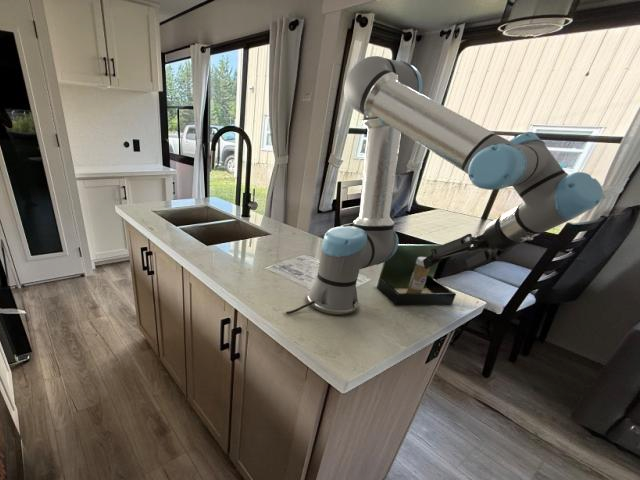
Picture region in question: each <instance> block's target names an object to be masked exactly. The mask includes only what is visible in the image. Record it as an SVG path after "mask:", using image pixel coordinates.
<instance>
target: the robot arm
mask: <svg viewBox="0 0 640 480" xmlns="http://www.w3.org/2000/svg"><path fill="white" fill-rule="evenodd" d="M422 91H423V79H422V75H421V73H420V71H419V70H418V69H417V68H416V67H415V66H414V65H412V64H410V63H408V62H407V61H402V60H395V59H391V58H388V57H387V58H386V57H383V56H379V55H371V56H367V57H364V58H362V59H361V60H359V61H357V62H356V63H355V64H354V66H353V67H352V68H351V69H350V70H349V72H348V73H347V75H346V78H345V82H344V85H343V93H344V98H345V101H346V103H347V104H348V106H349V107H350V108H351V109H353V110H354V111H356V112H358V113H360V114H361V115H363V119H362V124H363V125H364V126H365V127H366V128H367V134H366V135H367V136H366V146H365V154H364V165H363V175H362V183H361V195H360V203H359V213H358V217H357V218H355V219H354V220H353V221H352V226H351V225H346V226H342V225H340V226H336V227H332V228H330V229H329V230H327V231H326V232H325V234H324V236H323V240H322V242H321V252H320V257H319V262H318V269H317V275H316V278H315V279H314V282H313V283H312V286H311V287H310V289H309V290H308V293H307V299H306V300H307V303H305V304H303V305H301V306H299V307H298V308H295V309H292V310H288V311H285V314H286V315H290V314H293V313H294V314H295V313H297V312H298V311H301V310H302V309H305V308H307V307H309V306H310V307H311V308H313V309H314V310H316V311H318V312H320V313H323V314H326V315H330V316H332V315H333V316H347V315H351V314H353V313H355V312H356V310H357V309H358V306H359V305H360V302H359V299H358V291H357V282H358V277H359V273H360V270H362V269H366V268H370V267H373V266H377V265H381V264H383V262H385V261H387V260H388V259H390V258H391V257H392V256H393V255H394V254H395V252H396V250H397V248H398V244H399V237H398V234H397V233H396V230H395V229H394V226H395V222H394V221H393V220H392V218H391V207H392V200H393V194H394V186H395V180H396V179H395V178H396V172H397V164H398V157H399V150H400V142H401V135H402V134H403V135H405V136H406V137H408V138H410V139H411V140H413V141H414V142H416V143H417V144H419V145H421V146H422V147H424V148H426V149H427V150H429V151H430V152H432V153H434V154H436V156H439V157H440V158H442V159H443V160H445V161H446V162H448V163H450V164H451V165H453V166H454V167H456V168H458V169H459V170H461V171H463V172H464V173H466V174H467V175H468V178H469V181H470V182H471V183H472V184H473V185H474V186H475V187H477V188H480V189H483V190H490V191H496V190H501V189H505V188H510V187H512V188H513V189H514V190H515V191H516V193H517V195H518V196H519V198H520V199H522V201H523V202H522V203H521V204H519V205H517V206H516V207H513V208H512V209H510V210H509V211H507V212H505V213H503V214H502V215H500V216H499V217H497V218H495V219H494V220H492V221H490V222H489V223H488V224H486V226H485V229H484V231H483V232H481V233H479V234H477V235H476V236H473V234H472V233H467V234H465V235H463V236H461V237H459V238H457V239H453V240H451V241H449V242H446V243H442V244H439V245H440V246H438V247H435V248H432V249H431V251H432V255H430V256H429V257H427V258H425V259H424V260H423V263H424V268H425V269H428V268H429V267H431V266H433V265H435V264H436V263H438V262H439V263H440V262H442V261H443V260H444V259H445V258H449V257H452V256H457V255H460V254H463V253H467V252H468V253H475V252H477V251H480V252H478V253H477V254H475V255H472V256H471V257H468V258H467V259H465V262H466V267H467V269H474V268H475V267H477V266H480V265H481V264H484V263H485V262H487V261H490V262H495V261H497V258H498V259H502V258H504V257H505V256H506V255H507V254H509V252H511V250H513V248H515V247H517V246H519V245H521V244H522V243H523V242H526V241H533V240H534V237H537V236H539V235H541V234H543V233H545V232H547V231H549V230H551V229H554V228H556V227H558V226H560V225H562V224H564V223H567V222H569V221H571V220H573V219H576V218H578V217H580V216H581V215H583V214H584V213H586V212H588V211H590V210H593V209H594V208H595V207H597V206H598V205H599V204H600V203H601V202H602V200H603V197H604V190H603V187H602V185H601V183H600V182H599V181H598V179H596V178H593V177H592V176H591V174H589V173H587V172H583V171H577V172H572V173H571V174H569V173H567V172H566V171H565V170H564V169H563V167H562V166H561V165H560V163H559V161H558V160H557V159H556V157H554V155H553V154H552V153H551V151H550V150H549V149H548V147H547V146H546V142H545V141H544V140H541V138H539V136H538V135H537V134H536V133H535V132H533V131H526V132H524V133H521V134H519V135H517V136H514V137H513V138H511V139H510V140H508V139H506V138H504V137H503V136H500V135H498V134H496V133H495V132H494V131H492V130H489V129H488V128H486V127H483V126H482V125H480V124H478V123H477V122H474V121H472V120H471V119H468V118H467V117H465V116H463V115H461V114H460V113H458V112H455V111H454V110H452V109H450V108H448V107H447V106H444V105H443V104H441V103H439V102H437V101H435V100H433V99H431V98H429V97H428V96H426V95H424V94H422ZM472 246H473V248H472ZM439 263H438V264H439Z"/></svg>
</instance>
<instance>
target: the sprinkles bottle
mask: <svg viewBox="0 0 640 480" xmlns="http://www.w3.org/2000/svg"><path fill="white" fill-rule="evenodd" d="M425 258H427V257H418V258H417V260H416V265H415V268H414V271H413V273H412V276H411V279H410V283H409V286H408V289H407V290H406V292H405V293H423V292H422V291H423V290H424V288H423V287H424V284H425V282H426V278H427V275H428V272H429V269H430V267H429V268H428V269H425V268H424V263H423V260H424V259H425Z"/></svg>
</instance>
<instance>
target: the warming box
mask: <svg viewBox="0 0 640 480" xmlns="http://www.w3.org/2000/svg"><path fill="white" fill-rule="evenodd" d="M440 245H441V244H409V243H408V244H407V243H406V244H404V243H403V244H402V243H401V244H400V243H398V248H397V250H396V252H395V254H394V255H393V256H392V257H391V258H390V259H388V260H387V261H385V262H383V263H382V267H381V270H380V274H379V278H378V281H377V284H376V289H377V290H378V291H379V292H380V293H381V294H382V295H383V296H384V297H385V298H387V300H388V301H390V302H391V304H393V305H394V306H395V307H397V306H398V307H399V306H400V307H406V306H449V305H450V306H451V305H453V304H454V303H453V302H454V300H455V298H456V295H457V293H456V292H455V291H452V290H451V289H449V288H448V287H447V286H445V285H443V283H441V282H439V281H438V280H436V279H435V278H434V277H435V274H436V271H437V269H438V265H439V263H440V262H438V263H436V264H435V265H433V266H431V267H430V269H429V272H428V275H427V278H426V282H425V284H424V287H423V289H427V290H429V292H421V293H406V292H405V293H400V292H398V290H399V289H401V290H402V289H404V290H406V289H408V286H409V283H410V279H411V276H412V273H413V271H414V268H415V265H416V260H417V258H418V257H429V256H430V255H432V251H431V249H432V248H435V247H438V246H440Z"/></svg>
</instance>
